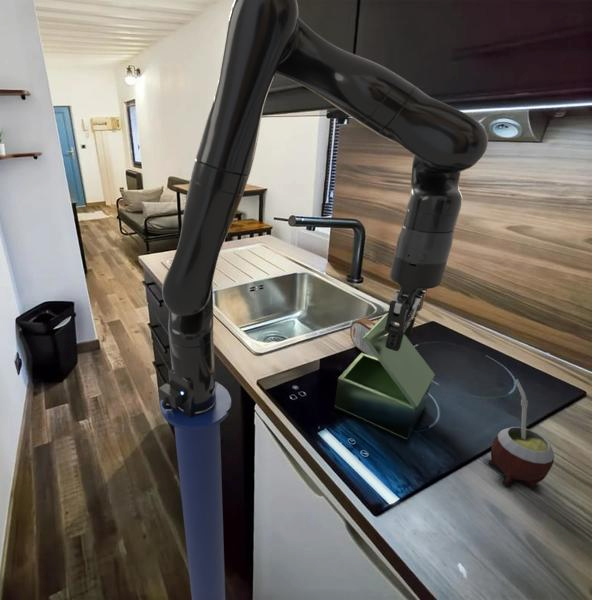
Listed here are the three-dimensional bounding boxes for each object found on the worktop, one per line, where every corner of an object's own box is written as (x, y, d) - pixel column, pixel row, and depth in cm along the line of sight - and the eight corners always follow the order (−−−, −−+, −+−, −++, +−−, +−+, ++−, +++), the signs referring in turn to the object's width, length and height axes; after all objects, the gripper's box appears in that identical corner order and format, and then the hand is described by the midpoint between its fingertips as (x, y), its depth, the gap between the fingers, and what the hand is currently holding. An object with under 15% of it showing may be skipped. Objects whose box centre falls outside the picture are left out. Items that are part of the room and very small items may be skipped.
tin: (399, 371, 85) (406, 340, 81) (388, 374, 84) (395, 343, 80) (356, 339, 98) (360, 312, 94) (345, 342, 97) (350, 314, 94)
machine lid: (362, 338, 65) (386, 327, 61) (384, 314, 73) (407, 303, 69) (413, 407, 63) (441, 400, 59) (431, 375, 70) (457, 367, 67)
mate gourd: (532, 503, 55) (570, 428, 48) (471, 468, 61) (498, 398, 54) (546, 476, 59) (584, 403, 52) (488, 446, 64) (515, 378, 58)
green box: (333, 408, 75) (338, 378, 72) (356, 381, 82) (361, 352, 79) (406, 442, 66) (414, 409, 63) (424, 408, 74) (432, 377, 70)
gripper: (408, 240, 66) (389, 320, 74) (381, 261, 57) (362, 350, 64) (457, 247, 62) (431, 332, 69) (435, 272, 52) (408, 367, 60)
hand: (398, 340), depth 67 cm, fingers closed on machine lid, 6 cm apart
